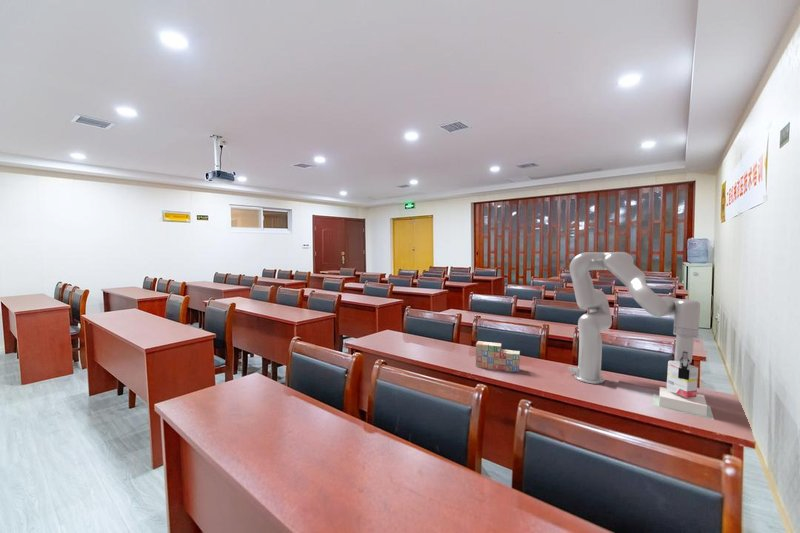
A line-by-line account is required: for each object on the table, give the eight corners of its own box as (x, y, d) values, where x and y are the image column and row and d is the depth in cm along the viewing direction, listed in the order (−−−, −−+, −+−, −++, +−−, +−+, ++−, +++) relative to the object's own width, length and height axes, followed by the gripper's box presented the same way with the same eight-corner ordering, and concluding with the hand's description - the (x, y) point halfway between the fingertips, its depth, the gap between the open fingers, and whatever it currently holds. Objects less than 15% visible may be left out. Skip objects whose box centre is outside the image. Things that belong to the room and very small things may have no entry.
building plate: (652, 408, 139) (652, 405, 139) (653, 396, 150) (653, 394, 150) (713, 422, 128) (714, 419, 128) (709, 408, 139) (709, 405, 139)
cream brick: (659, 406, 138) (659, 396, 138) (659, 396, 148) (659, 386, 148) (706, 416, 130) (707, 406, 130) (703, 405, 140) (704, 395, 140)
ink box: (697, 397, 135) (699, 367, 135) (686, 398, 134) (688, 367, 134) (676, 388, 144) (677, 359, 143) (665, 389, 143) (667, 360, 142)
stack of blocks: (519, 369, 182) (520, 345, 181) (518, 373, 176) (519, 348, 175) (477, 363, 190) (477, 340, 189) (475, 367, 184) (475, 343, 183)
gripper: (673, 326, 147) (670, 367, 148) (674, 334, 133) (671, 379, 134) (696, 329, 142) (693, 371, 143) (700, 337, 128) (697, 384, 129)
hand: (682, 375), depth 138 cm, fingers open, 9 cm apart
